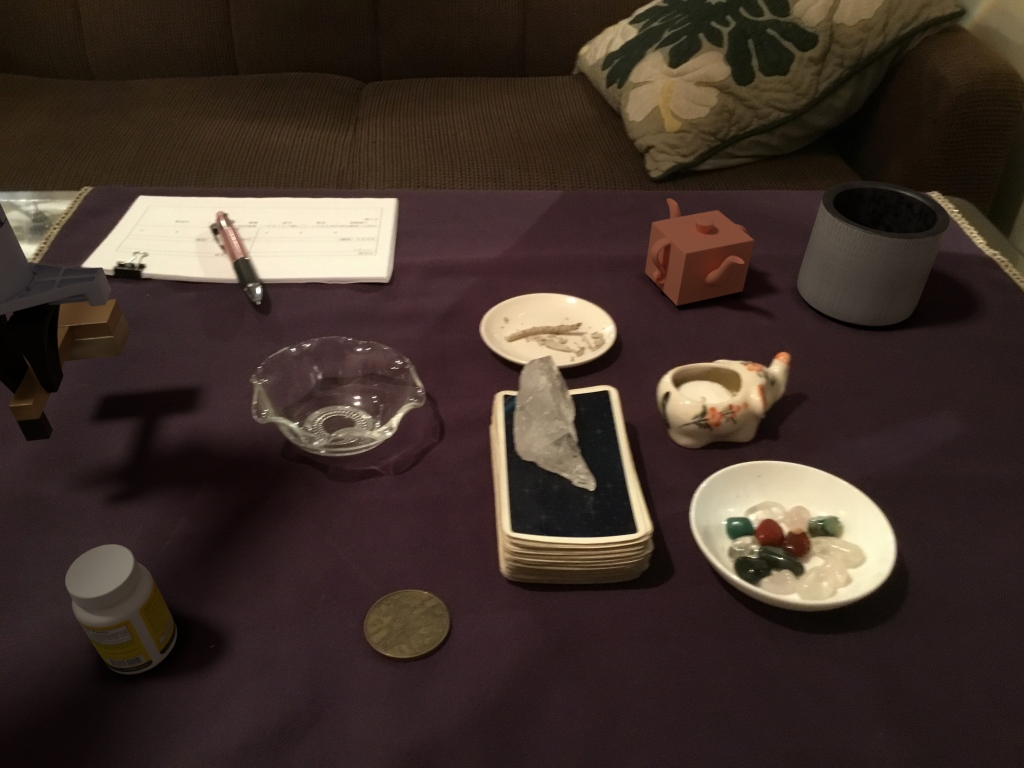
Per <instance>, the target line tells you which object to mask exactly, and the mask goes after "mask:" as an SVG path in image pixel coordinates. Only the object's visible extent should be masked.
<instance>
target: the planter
mask: <svg viewBox="0 0 1024 768" xmlns="http://www.w3.org/2000/svg"><path fill="white" fill-rule="evenodd" d="M950 223H951V218H950V215H949V213H948V211H947V210H946V209H945V207H943V206H942V205H941V204H940V203H939V202H938V201H936V200H935V199H933V198H931V197H929V196H928V195H925V194H923V193H921V192H920V191H916V190H914V189H911V188H908V187H905V186H902V185H898V184H893V183H887V182H883V181H882V182H881V181H872V180H857V181H856V180H855V181H848V182H842V183H838V184H835V185H833V186H831V187H829V188H828V189H827V190H825V191H824V192H823V194H822V197H821V200H820V204H819V207H818V211H817V214H816V217H815V220H814V224H813V227H812V230H811V232H810V237H809V240H808V243H807V246H806V249H805V253H804V256H803V259H802V262H801V265H800V268H799V271H798V274H797V282H796V286H797V290H798V292H799V295H800V296H801V298H803V300H804V301H805V302H806V303H807V304H808V305H809V306H810V307H812V308H813V309H814V310H816V311H818V312H819V313H821V314H822V315H824V316H826V317H828V318H831V319H833V320H836V321H838V322H841V323H845V324H849V325H854V326H859V327H883V326H885V327H886V326H890V325H891V326H892V325H894V324H895V325H896V324H898V323H901V322H904V321H905V320H907V319H908V318H909V317H911V315H912V314H913V313H914V312H915V309H916V308H917V306H918V303H919V301H920V299H921V297H922V294H923V292H924V288H925V286H926V283H927V281H928V278H929V276H930V273H931V270H932V268H933V266H934V264H935V261H936V258H937V256H938V253H939V251H940V249H941V245H942V244H943V240H944V238H945V236H946V234H947V232H948V229H949V226H950Z"/></svg>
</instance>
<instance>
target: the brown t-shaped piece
mask: <svg viewBox="0 0 1024 768" xmlns="http://www.w3.org/2000/svg"><path fill="white" fill-rule="evenodd" d="M128 323H129V322H128V321H127V318H126V316H125V313H124V311H122V309H121V307H120V304H119V301H118V300H117V298H114V299H113V298H112V299H108V300H107V302H106V305H101V306H91V305H90V304H89V302H77V303H66V304H60V311H59V320H58V349H59V357H60V363H61V368H62V369H63V367H64V365H65V363H66V362H70V361H82V360H91V359H100V358H112V357H121V356H122V354H123V351H124V349H125V346H126V343H127V341H128V338H129V335H130V332H131V329H130V326H129V324H128ZM24 358H25V357H24ZM25 360H26V358H25ZM26 362H27V364H28V366H29V368H28V370H27V372H26V374H25V376H24V378H23V380H22V382H21V383H20V385H19V387H18V389H17V391H16V393H15V394H13V397H12V399H11V401H10V403H9V405H8V409H9V411H10V413H11V414H12V416H13V418H14V419H15V421H16V423H17V425H18V427H19V429H20V431H21V433H22V435H23V436H24V438H25V440H26V441H27V442H34V441H42V440H50V438H51V437H52V434H53V431H54V429H53V427H52V425H51V423H50V422H49V419H48V417H47V415H46V413H45V411H44V409H45V407H46V405H47V402H48V401H49V398H50V396H51V394H52V393H47V392H46V391H45V390H44V388H43V387H42V386H41V385H40V383H39V381H38V379H37V377H36V375H35V373H34V371H33V369H32V367H31V365H30V364H29V362H28V361H27V360H26Z"/></svg>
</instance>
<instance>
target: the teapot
mask: <svg viewBox="0 0 1024 768" xmlns="http://www.w3.org/2000/svg"><path fill="white" fill-rule="evenodd" d="M666 204H667V206H668V209H669V218H665V219H660V220H656V221H652V222H651V227H650V235H649V242H648V248H647V255H646V263H645V271H644V273H645V274H646V275H647V276H648V277H649V279H650V280H651V281H652V282H653V283H654V284H656V286H657V287H658V288H659V289H660V290H661V291H662V292H663V293H664V295H666V296H667V297H668V299H669V300H670V301H671V302H672V303H673V304H674V305H675V306H677V307H678V306H682V305H687V304H692V303H696V302H700V301H705V300H708V299H714V298H719V297H723V296H728V295H732V294H738V293H740V292H743V291H744V286H745V282H746V280H747V279H746V278H747V274H748V271H749V266H750V262H751V258H752V254H753V250H754V245H755V239H754V238H753V237H751V236H750V235H749V232H748V230H747V228H745V227H744V226H743V225H741V224H737V223H734V221H732V220H731V219H729V218H728V217H727V216H725V214H723V213H722V212H721V211H720V210H718V209H717V210H709V211H705V212H698V213H695V214H694V213H693V214H688V215H682V213H681V209H680V206H679V204H678V202H677V201H675V200H674V199H673V198H669V197H668V198H666Z"/></svg>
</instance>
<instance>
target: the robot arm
mask: <svg viewBox="0 0 1024 768" xmlns="http://www.w3.org/2000/svg"><path fill="white" fill-rule="evenodd" d="M111 291H112V287H111V285H110V282H109V280H108V278H107V275H106V273H105V270H104V268H103V267H101V266H100V267H99V266H98V267H76V266H75V267H74V266H65V265H57V264H48V263H41V262H40V263H38V262H32V261H31V262H29V261H28V259H27V257H26V254H25V253H24V250H23V248H22V246H21V244H20V241H19V240H18V238H17V236H16V233H15V232H14V229H13V227H12V225H11V223H10V221H9V219H8V216H7V214H6V212H5V210H4V208H3V206H2V204H1V202H0V383H1V384H3V386H5V387H6V389H8V390H9V391H10V392H11V393H13V395H15V393H16V391H17V389H18V387H19V385H20V383H21V382H22V380H23V378H24V376H25V374H26V372H27V370H28V368H29V366H30V365H31V367H32V369H33V371H34V373H35V375H36V377H37V379H38V381H39V383H40V385H41V386H42V387H43V388H44V390H45V391H46V392H47V393H51V394H52V393H53V394H54V393H57V392H59V389H60V386H61V384H62V381H63V378H64V372H63V367H62V368H61V363H60V357H59V349H58V320H59V311H60V304H67V303H78V302H89V304H90V305H91V306H101V305H106V302H107V300H109V298H110V295H111ZM10 313H12V314H11V315H10V316H9V318H7V315H6V314H10ZM24 357H25V358H26V360H27V361H28V362H29V364H30V365H28V364H27V362H26V360H25V358H24Z"/></svg>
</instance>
